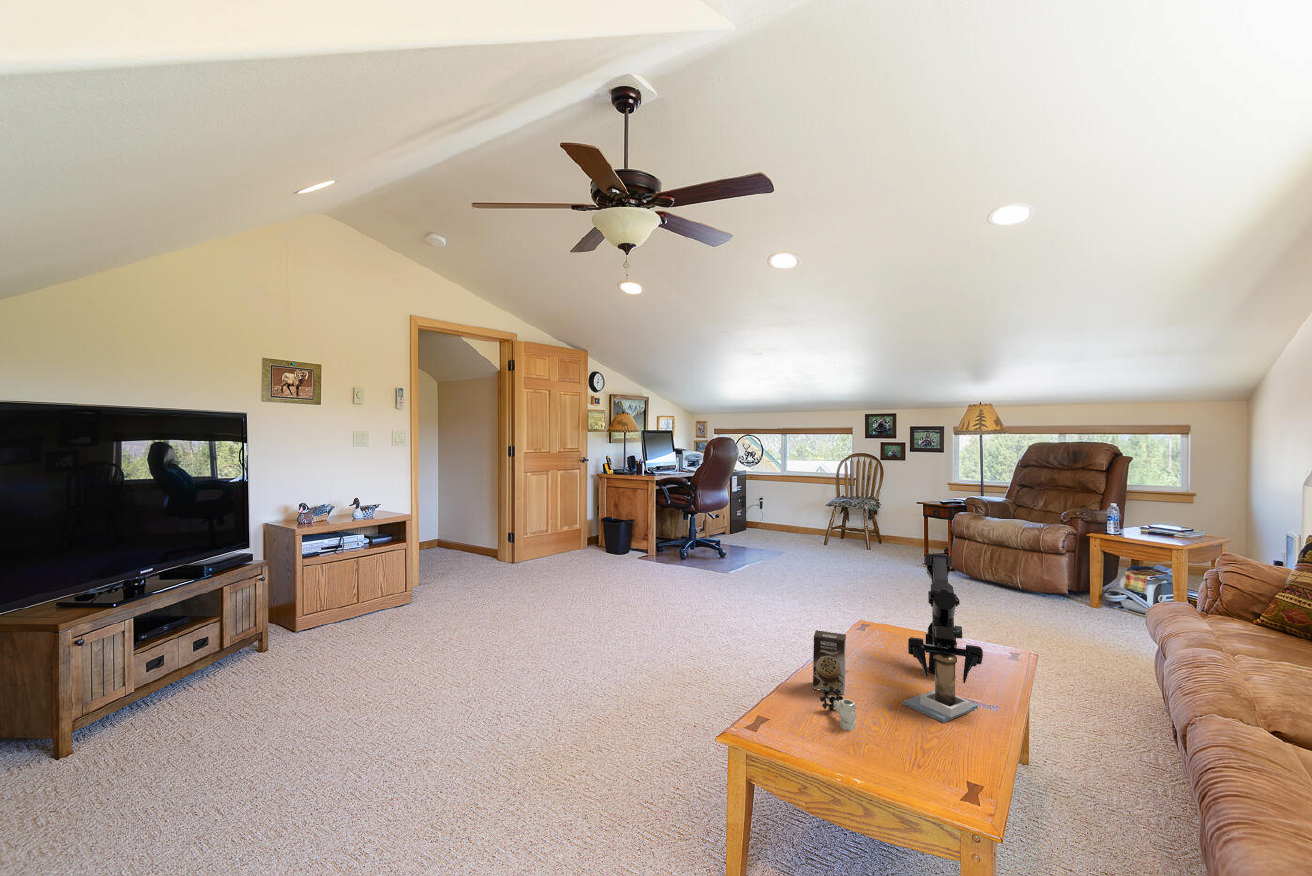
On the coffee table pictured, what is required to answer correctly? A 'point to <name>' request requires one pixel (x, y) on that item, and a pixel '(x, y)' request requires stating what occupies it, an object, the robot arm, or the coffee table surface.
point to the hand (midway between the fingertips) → (945, 679)
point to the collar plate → (939, 706)
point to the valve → (840, 708)
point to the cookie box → (829, 661)
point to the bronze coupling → (945, 678)
